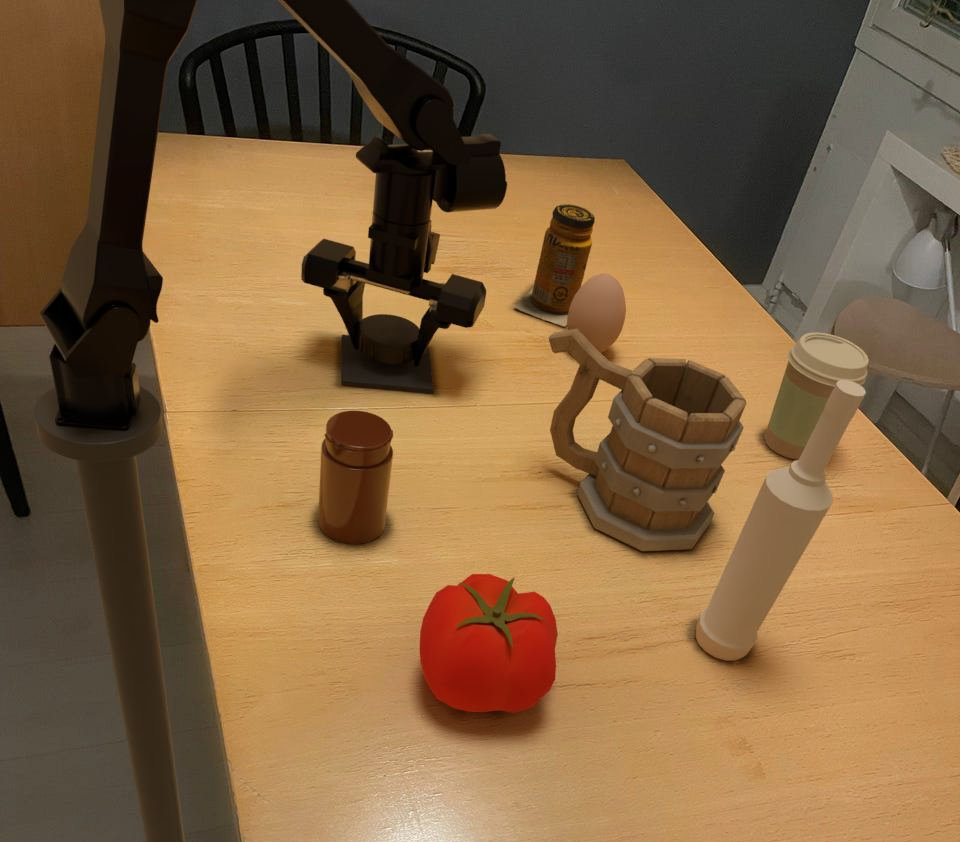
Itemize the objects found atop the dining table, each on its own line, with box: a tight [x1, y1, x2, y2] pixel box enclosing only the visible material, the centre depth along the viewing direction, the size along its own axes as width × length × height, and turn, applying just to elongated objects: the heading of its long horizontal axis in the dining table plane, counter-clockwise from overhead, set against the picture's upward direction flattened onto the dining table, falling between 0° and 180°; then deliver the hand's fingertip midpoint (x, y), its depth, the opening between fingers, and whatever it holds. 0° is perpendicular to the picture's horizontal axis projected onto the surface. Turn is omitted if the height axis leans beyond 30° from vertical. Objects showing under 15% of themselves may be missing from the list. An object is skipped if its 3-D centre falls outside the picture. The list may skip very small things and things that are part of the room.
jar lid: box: [357, 313, 420, 364], centre depth 99 cm, size 7×7×2 cm
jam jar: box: [317, 410, 394, 545], centre depth 78 cm, size 6×6×10 cm
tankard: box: [548, 329, 747, 552], centre depth 86 cm, size 20×13×15 cm, turn 59°
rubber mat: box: [340, 334, 435, 395], centre depth 101 cm, size 10×10×1 cm
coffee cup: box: [764, 332, 869, 460], centre depth 100 cm, size 8×8×12 cm
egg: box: [566, 273, 627, 353], centre depth 108 cm, size 7×7×10 cm
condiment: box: [512, 203, 596, 328], centre depth 115 cm, size 7×8×12 cm
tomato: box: [419, 573, 558, 713], centre depth 68 cm, size 11×11×9 cm
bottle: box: [695, 380, 867, 662], centre depth 70 cm, size 5×5×25 cm
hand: (387, 356), depth 101 cm, fingers closed on jar lid, 7 cm apart
